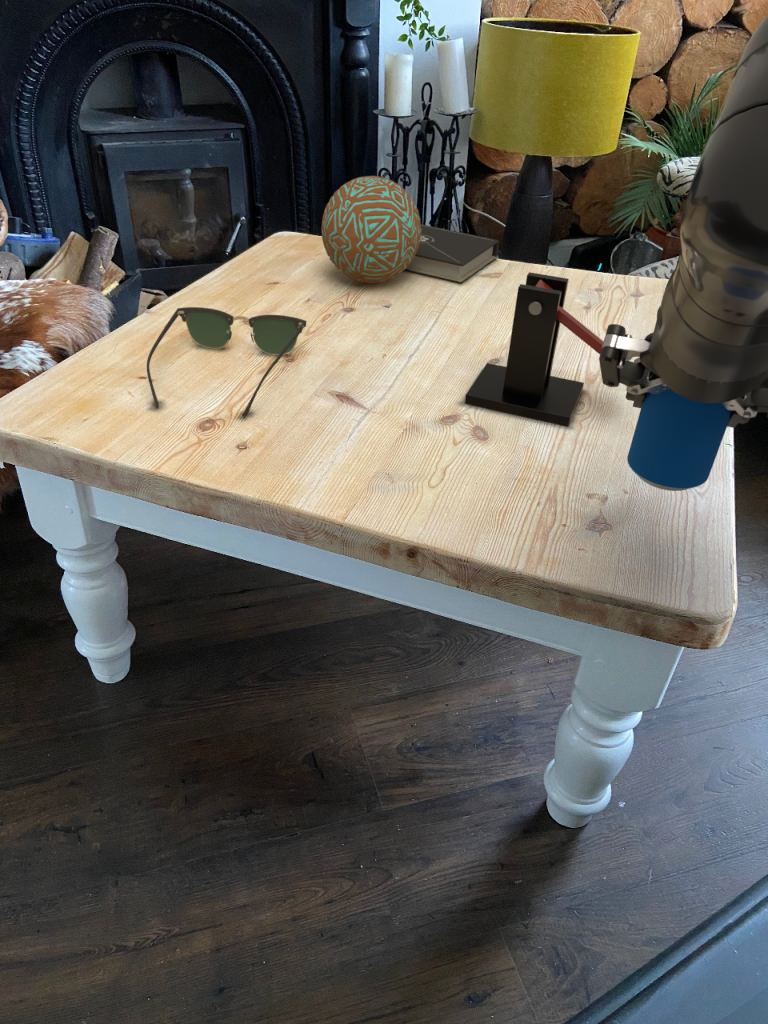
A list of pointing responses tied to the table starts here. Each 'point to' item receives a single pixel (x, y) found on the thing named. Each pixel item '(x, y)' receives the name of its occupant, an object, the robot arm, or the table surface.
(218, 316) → the sunglasses
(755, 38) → the robot arm
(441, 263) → the book
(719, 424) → the beverage can
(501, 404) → the bracket
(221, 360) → the table surface
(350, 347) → the table surface
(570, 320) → the lever
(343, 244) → the decorative sphere
